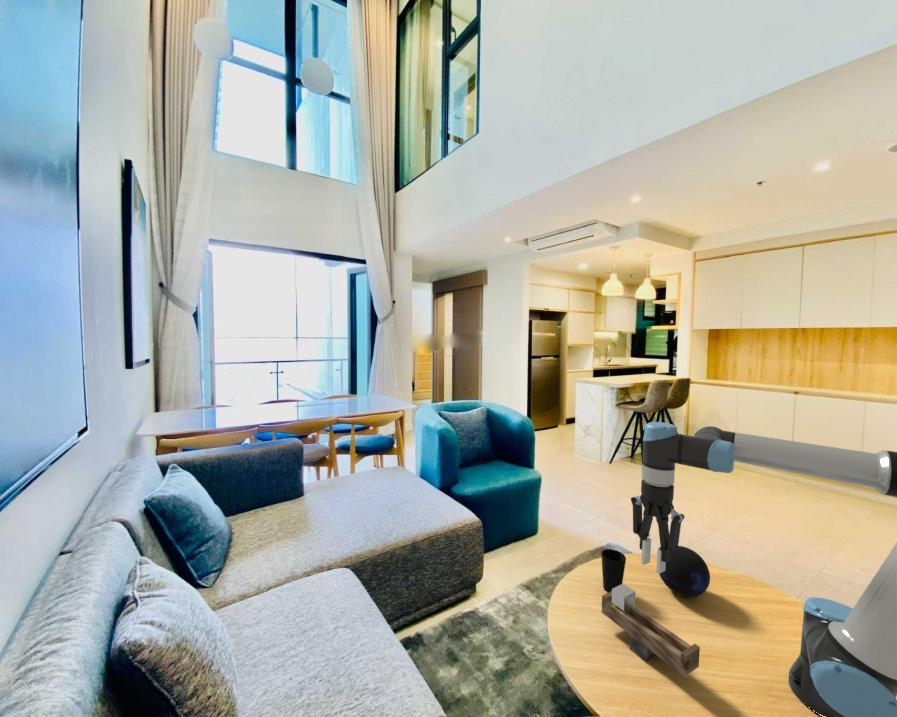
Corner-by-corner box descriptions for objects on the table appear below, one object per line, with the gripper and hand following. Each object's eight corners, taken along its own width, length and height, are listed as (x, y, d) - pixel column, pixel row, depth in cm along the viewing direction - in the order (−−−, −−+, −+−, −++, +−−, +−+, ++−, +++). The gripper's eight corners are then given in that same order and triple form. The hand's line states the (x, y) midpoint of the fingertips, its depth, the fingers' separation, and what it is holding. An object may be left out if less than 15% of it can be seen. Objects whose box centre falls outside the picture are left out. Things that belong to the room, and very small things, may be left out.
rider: (634, 613, 108) (635, 591, 108) (623, 619, 106) (624, 597, 105) (622, 604, 112) (623, 583, 111) (611, 610, 109) (612, 588, 109)
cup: (597, 590, 127) (598, 556, 126) (602, 579, 133) (604, 546, 133) (622, 600, 123) (623, 564, 122) (626, 587, 129) (627, 553, 128)
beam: (698, 681, 94) (700, 646, 94) (683, 693, 91) (685, 657, 90) (614, 617, 115) (615, 589, 114) (600, 625, 112) (601, 595, 111)
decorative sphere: (695, 614, 117) (698, 568, 116) (647, 587, 129) (649, 545, 128) (717, 596, 125) (719, 553, 124) (670, 572, 138) (672, 532, 137)
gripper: (698, 490, 94) (693, 580, 95) (637, 469, 108) (633, 547, 110) (681, 496, 90) (676, 590, 92) (620, 473, 104) (616, 554, 106)
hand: (653, 566), depth 101 cm, fingers open, 3 cm apart
